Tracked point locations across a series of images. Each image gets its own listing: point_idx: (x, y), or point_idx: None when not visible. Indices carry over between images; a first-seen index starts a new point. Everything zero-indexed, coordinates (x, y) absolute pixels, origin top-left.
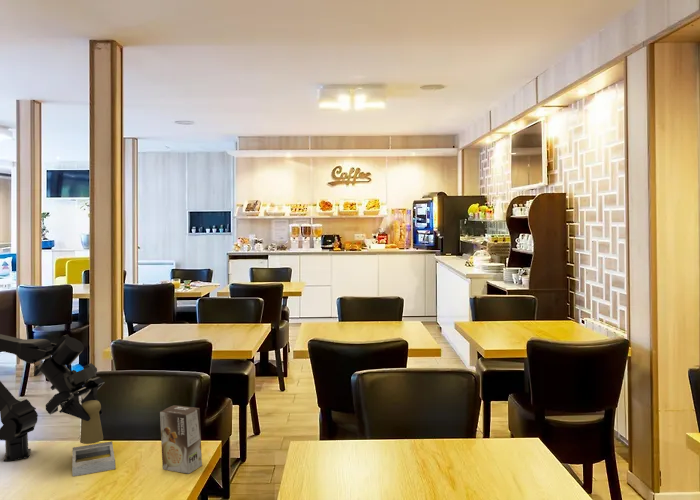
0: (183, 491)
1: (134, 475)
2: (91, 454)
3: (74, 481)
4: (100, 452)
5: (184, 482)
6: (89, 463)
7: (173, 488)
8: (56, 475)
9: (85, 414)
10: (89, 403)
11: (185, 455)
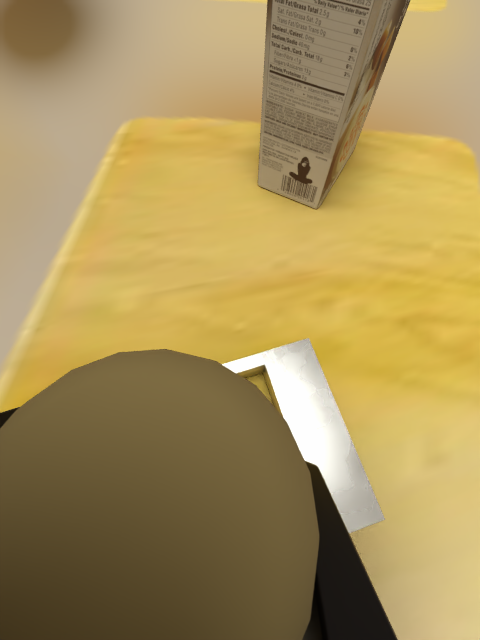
0: (457, 148)
1: (359, 275)
2: None
3: (415, 482)
4: None
5: (405, 152)
6: (337, 442)
7: (442, 168)
8: None
9: (348, 534)
10: (244, 530)
11: (371, 101)
